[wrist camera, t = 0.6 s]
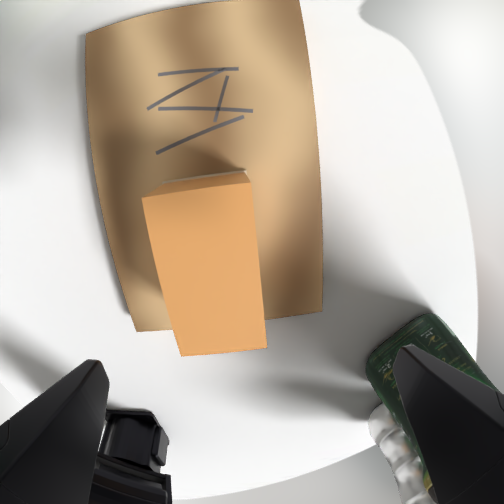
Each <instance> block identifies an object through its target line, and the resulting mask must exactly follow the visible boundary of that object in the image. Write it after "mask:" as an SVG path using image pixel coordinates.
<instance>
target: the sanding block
mask: <svg viewBox="0 0 504 504" xmlns="http://www.w3.org/2000/svg"><path fill="white" fill-rule="evenodd" d="M162 184H163V185H161V186H159V187H158V188H156V189H155V190H153V191H152V192H150V193H148V194H147V195H145V196H144V197H142V203H143V208H144V214H145V219H146V224H147V229H148V234H149V238H150V243H151V248H152V252H153V256H154V261H155V265H156V269H157V273H158V277H159V281H160V285H161V289H162V293H163V297H164V300H165V304H166V308H167V311H168V315H169V318H170V322H171V325H172V328H173V332H174V335H175V338H176V342H177V345H178V348H179V351H180V354H181V356H195V355H207V354H218V353H228V352H238V351H246V350H255V349H262V348H267V340H266V329H265V319H264V308H263V298H262V288H261V277H260V267H259V257H258V247H257V237H256V227H255V217H254V207H253V197H252V187H251V182H250V180H249V178H248V177H247V171H246V170H242V171H233V172H225V173H217V174H209V175H202V176H195V177H188V178H182V179H175V180H169V181H163V182H162Z"/></svg>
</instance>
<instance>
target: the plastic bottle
mask: <svg viewBox="0 0 504 504" xmlns="http://www.w3.org/2000/svg"><path fill="white" fill-rule="evenodd" d="M368 427H369V431H370V435H371V436H372V438H373V440H374V441H375V443H376V444H377V445H378V446H379V447H380V449H381V450H382V452H383V454H384V456H385V457H386V459H387V461H388V463H389V464H390V466H391V468H392V471H393V473H394V477H395V479H396V482H397V485H398V489H399V493H400V498H401V502H402V504H436V503H435V502H434V501H433V499H432V498H431V497H430V495H429V494H428V492H427V491H426V489H425V487H424V483H423V465H422V462H421V460H420V458H419V456H418V454H417V452H416V450H415V449H414V447H413V445H412V444H411V442H410V440H409V439H408V437H407V435H406V434H405V432H404V431H403V429H402V428H401V427H400V425H399V424H398V422H397V421H396V419H395V418H394V417H393V415H392V414H391V413H390V411H389V410H388V409H387V407H386V406H385V405H384V403H382V404H380V405H379V406H378V407H376V408H375V409H374V410H373V412H372V413H371V415H370V417H369V421H368Z"/></svg>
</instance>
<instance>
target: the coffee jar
mask: <svg viewBox="0 0 504 504" xmlns="http://www.w3.org/2000/svg"><path fill="white" fill-rule="evenodd" d="M407 345H414V346H416V347H418V348H419V349H421V350H423V351H425V352H427V353H429V354H430V355H432V356H434V357H436V358H438V359H440V360H441V361H443V362H445V363H447V364H449V365H450V366H452V367H454V368H456V369H458V370H460V371H461V372H463V373H465V374H467V375H469V376H471V377H472V378H474V379H476V380H478V381H480V382H482V383H483V384H485V385H487V386H489V387H491V388H493V389H494V390H495V391H498V392H500V391H499V390H498V389H497V388H496V387H495V386H494V385H493V384H492V383H491V381H490V380H489V379H488V378H487V377H486V375H485V374H484V373H483V372H482V370H481V369H480V368H479V366H478V365H477V363H476V362H475V361H474V359H473V358H472V357H471V355H470V354H469V353H468V351H467V350H466V349H465V347H464V346H463V345H462V343H461V342H460V340H459V339H458V338H457V337H456V335H455V334H454V333H453V331H452V330H451V329H450V328H449V327H448V325H447V324H446V323H445V322H444V321H443V320H442V319H441V318H440V317H439V316H437V315H435V314H425V315H422V316H420V317H418V318H416V319H415V320H413V321H412V322H410V323H409V324H408V325H406V326H405V327H403V328H402V329H401V330H399V331H398V332H397V333H395V334H394V335H393V336H392V337H390V338H389V339H388V340H387V341H385V342H384V343H383V344H382V345H381V346H379V347H378V348H377V349H376V350H375V351H374V352H373V353H372V355H371V356H370V357H369V359H368V362H367V365H366V375H367V378H368V380H369V381H370V383H371V385H372V387H373V388H374V390H375V391H376V393H377V395H378V396H379V398H380V399H381V400H382V402H383V403H384V405H385V406H386V407H387V409H388V410H389V411H390V413H391V414H392V415H393V417H394V418H395V419H396V421H397V422H398V424H399V425H400V427H401V428H402V429H403V431H404V432H405V434H406V435H407V437H408V439H409V440H410V442H411V444H412V445H413V447H414V449H415V450H416V452H417V454H418V456H419V458H420V460H421V462H422V465H423V483H424V487H425V489H426V491H427V492H428V494H429V495H430V497H431V498H432V499H433V501H434V502H435V503H436V504H438V501H437V498H436V495H435V492H434V489H433V486H432V483H431V480H430V477H429V474H428V471H427V468H426V465H425V462H424V459H423V457H422V454H421V451H420V449H419V446H418V443H417V441H416V438H415V435H414V433H413V430H412V428H411V425H410V423H409V420H408V418H407V415H406V413H405V410H404V407H403V404H402V400H401V397H400V393H399V390H398V387H397V384H396V380H395V377H394V374H393V364H394V362H395V359H396V356H397V354H398V351H399V349H400V348H401V347H402V346H407ZM500 393H501V392H500Z"/></svg>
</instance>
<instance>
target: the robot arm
mask: <svg viewBox="0 0 504 504" xmlns="http://www.w3.org/2000/svg"><path fill="white" fill-rule="evenodd" d="M393 374H394V377H395V380H396V384H397V387H398V390H399V393H400V397H401V400H402V404H403V407H404V410H405V413H406V415H407V418H408V420H409V423H410V425H411V428H412V430H413V433H414V435H415V438H416V441H417V443H418V446H419V449H420V451H421V454H422V457H423V459H424V462H425V465H426V468H427V471H428V474H429V477H430V480H431V483H432V486H433V489H434V492H435V495H436V498H437V501H438V504H504V394H502V393H500V392H498V391H495V390H494V389H493V388H491V387H489V386H487V385H485V384H483V383H482V382H480V381H478V380H476V379H474V378H472V377H471V376H469V375H467V374H465V373H463V372H461V371H460V370H458V369H456V368H454V367H452V366H450V365H449V364H447V363H445V362H443V361H441V360H440V359H438V358H436V357H434V356H432V355H430V354H429V353H427V352H425V351H423V350H421V349H419V348H418V347H416V346H414V345H407V346H402V347H401V348H400V349H399V351H398V354H397V356H396V359H395V362H394V364H393ZM108 392H109V379H108V377H107V374H106V372H105V369H104V367H103V365H102V363H101V362H100V361H99V360H92V359H88V360H86V361H84V362H83V363H82V364H80V365H79V366H78V367H76V368H75V369H74V370H73V371H71V372H70V373H69V374H67V375H66V376H65V377H63V378H62V379H61V380H59V381H58V382H57V383H55V384H54V385H53V386H51V387H50V388H49V389H47V390H46V391H45V392H43V393H42V394H41V395H40V396H38V397H37V398H36V399H34V400H33V401H32V402H30V403H29V404H28V405H26V406H25V407H24V408H23V409H21V410H20V411H19V412H17V413H16V414H15V415H13V416H12V417H11V418H10V420H7V421H6V422H4V423H3V424H2V425H1V426H0V504H172V492H171V475H168V474H161V473H160V468H161V466H164V465H165V463H166V454H167V446H168V445H169V440H168V437H167V435H166V433H165V432H164V430H163V428H162V427H161V426H160V424H159V423H158V421H157V419H156V417H155V416H154V414H152V413H149V412H127V411H112V410H106V405H107V398H108ZM104 419H105V420H106V421H107V424H106V427H105V431H104V434H103V437H102V441H101V444H100V440H101V436H102V431H103V426H104ZM99 444H100V447H99ZM98 449H99V451H98Z"/></svg>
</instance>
